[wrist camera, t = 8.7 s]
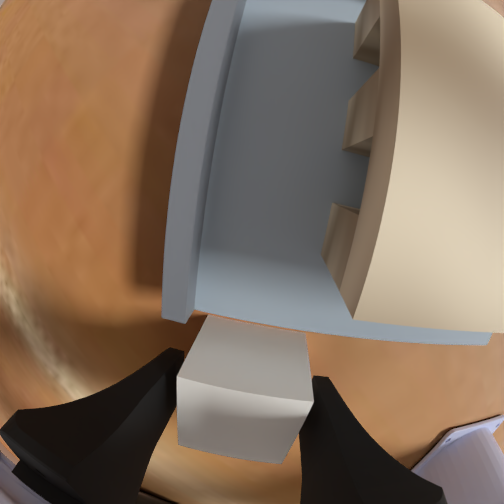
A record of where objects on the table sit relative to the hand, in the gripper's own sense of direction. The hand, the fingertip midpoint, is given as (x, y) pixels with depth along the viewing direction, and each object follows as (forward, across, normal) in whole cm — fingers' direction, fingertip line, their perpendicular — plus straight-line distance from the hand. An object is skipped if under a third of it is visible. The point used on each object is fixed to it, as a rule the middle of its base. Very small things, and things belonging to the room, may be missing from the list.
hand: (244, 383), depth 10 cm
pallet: (0, -4, -10) cm, 10 cm away
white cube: (+2, 0, 0) cm, 2 cm away
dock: (+1, -4, -10) cm, 10 cm away
